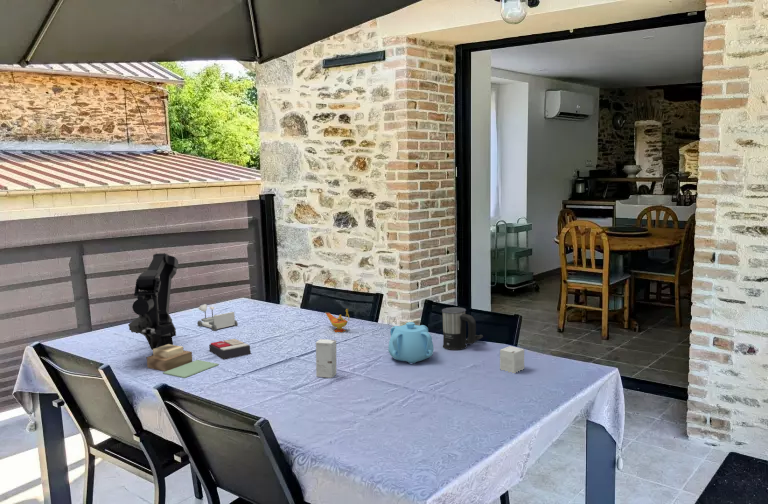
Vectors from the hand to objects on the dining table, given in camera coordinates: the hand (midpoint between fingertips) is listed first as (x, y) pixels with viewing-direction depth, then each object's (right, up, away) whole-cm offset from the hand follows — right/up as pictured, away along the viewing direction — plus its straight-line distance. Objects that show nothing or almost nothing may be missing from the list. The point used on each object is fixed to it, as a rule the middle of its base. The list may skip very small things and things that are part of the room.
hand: (153, 349), depth 234 cm
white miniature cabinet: (+66, -6, -20) cm, 70 cm away
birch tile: (+7, -1, -4) cm, 8 cm away
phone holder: (+9, +2, +53) cm, 54 cm away
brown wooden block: (+8, -5, -4) cm, 10 cm away
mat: (+17, -6, -9) cm, 20 cm away
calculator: (+26, -3, +10) cm, 28 cm away
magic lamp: (+66, +2, +39) cm, 77 cm away
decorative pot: (+96, -3, -4) cm, 96 cm away
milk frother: (+117, 0, +12) cm, 117 cm away
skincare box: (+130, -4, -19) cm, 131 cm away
